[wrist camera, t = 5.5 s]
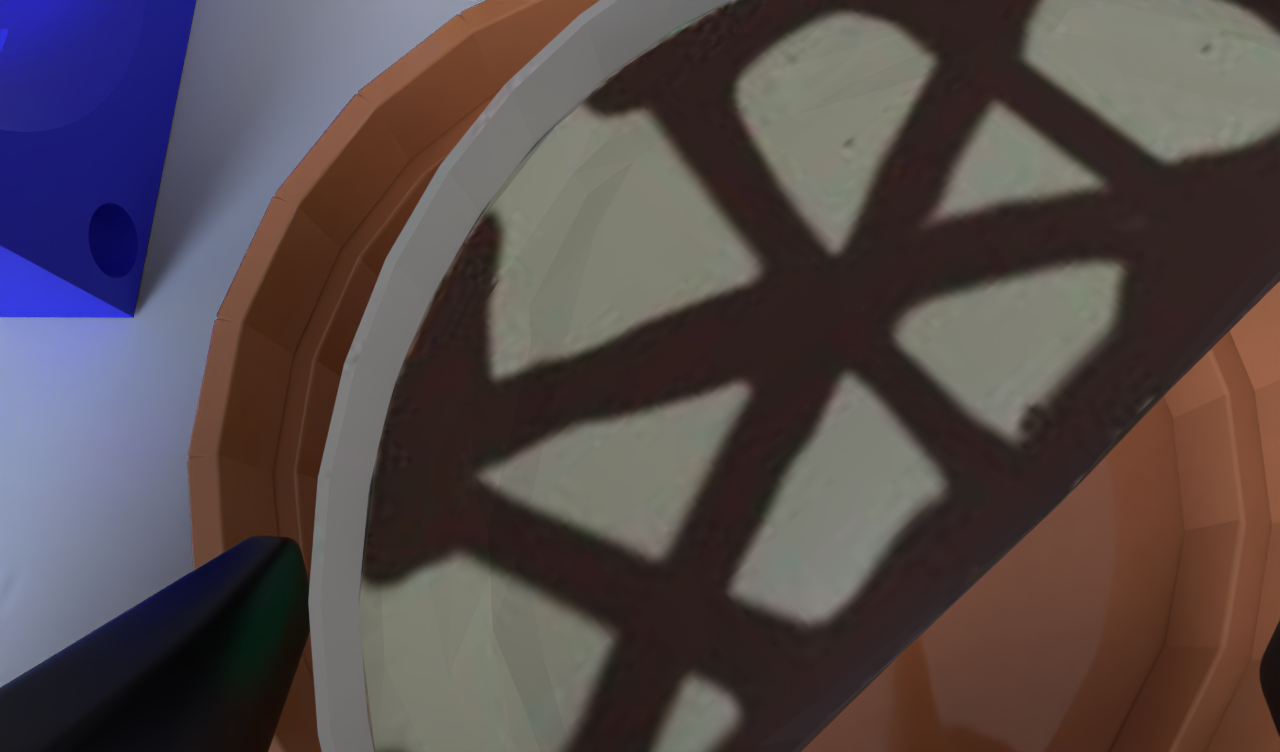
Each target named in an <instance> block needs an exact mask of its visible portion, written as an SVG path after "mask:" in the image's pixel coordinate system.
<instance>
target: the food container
mask: <svg viewBox="0 0 1280 752" xmlns="http://www.w3.org/2000/svg"><path fill="white" fill-rule="evenodd" d="M1279 281H1280V0H600V1H598V2H597V3H596V4H594V5H593V6H591V7H590V8H588V9H587V10H585V11H584V12H583V13H581V14H580V15H579V16H578V17H577V18H576V19H574V20H573V21H572V22H571V23H570V24H569V25H568V26H567V27H566V28H565V29H564V30H563V31H562V32H560V33H559V34H558V35H557V36H556V37H555V38H554V39H553V40H552V41H551V42H550V43H549V44H548V45H547V46H545V47H544V48H543V49H542V50H541V51H540V52H539V53H538V54H537V55H536V56H535V57H534V58H533V59H532V60H530V61H529V62H528V63H527V64H526V65H525V66H524V67H523V68H522V69H521V70H520V71H519V72H518V73H516V74H515V75H514V76H513V77H512V78H511V79H510V80H509V81H508V82H507V83H506V84H505V85H504V86H503V87H502V89H501V90H500V91H499V92H498V94H497V95H496V96H495V97H494V99H493V100H492V101H491V102H490V104H489V105H488V106H487V107H486V109H485V110H484V111H483V112H482V114H481V115H480V116H479V117H478V119H477V120H476V121H475V122H474V124H473V125H472V126H471V127H470V129H469V130H468V131H467V132H466V134H465V135H464V136H463V137H462V139H461V140H460V141H459V142H458V144H457V145H456V146H455V147H454V149H453V150H452V151H451V152H450V154H449V155H448V156H447V157H446V159H445V160H444V161H443V162H442V164H441V165H440V166H439V168H438V170H437V171H436V173H435V175H434V177H433V178H432V180H431V182H430V183H429V185H428V187H427V189H426V190H425V192H424V194H423V195H422V197H421V199H420V201H419V202H418V204H417V206H416V207H415V209H414V211H413V213H412V214H411V216H410V218H409V220H408V221H407V223H406V225H405V226H404V228H403V230H402V232H401V233H400V235H399V237H398V238H397V240H396V242H395V244H394V245H393V247H392V249H391V250H390V252H389V254H388V256H387V257H386V259H385V262H384V264H383V267H382V269H381V272H380V274H379V277H378V279H377V282H376V284H375V287H374V290H373V292H372V295H371V297H370V300H369V302H368V305H367V307H366V310H365V312H364V315H363V317H362V320H361V322H360V325H359V327H358V330H357V332H356V335H355V337H354V340H353V342H352V345H351V348H350V350H349V353H348V355H347V358H346V360H345V363H344V367H343V371H342V375H341V380H340V384H339V388H338V393H337V397H336V401H335V406H334V410H333V414H332V419H331V423H330V427H329V432H328V436H327V440H326V445H325V449H324V453H323V458H322V462H321V466H320V471H319V475H318V482H317V495H316V508H315V521H314V534H313V547H312V560H311V573H310V586H309V599H308V605H309V619H310V633H311V647H312V661H313V674H314V688H315V702H316V716H317V730H318V737H319V742H320V746H321V751H322V752H801V751H802V750H803V749H804V748H805V747H806V746H807V745H808V744H809V743H810V742H811V741H813V740H814V739H815V738H816V737H817V736H818V735H819V734H820V733H821V732H822V731H823V730H824V729H825V728H826V727H827V726H828V725H829V724H830V723H831V722H832V721H833V720H834V719H835V718H836V717H837V716H838V715H839V714H840V713H841V712H842V711H843V710H844V709H845V708H846V707H847V706H848V705H849V704H850V703H851V702H852V701H853V700H854V699H855V698H856V697H857V696H858V695H859V694H860V693H862V692H863V691H864V690H865V689H866V688H867V687H868V686H869V685H870V684H871V683H872V682H873V681H874V680H875V679H876V678H877V677H878V676H879V675H880V674H881V673H882V672H883V671H884V670H885V669H886V668H887V667H888V666H889V665H890V664H891V663H892V662H893V661H894V660H895V659H896V658H897V657H898V656H899V655H900V654H901V653H902V652H904V651H905V650H906V649H907V648H908V647H909V646H910V645H911V644H912V643H913V642H914V641H915V640H916V639H917V638H918V637H919V636H920V635H922V634H923V633H924V632H925V631H926V630H927V629H928V628H929V627H930V626H931V625H932V624H933V623H934V622H935V621H936V620H937V619H938V618H940V617H941V616H942V615H943V614H944V613H945V612H946V611H947V610H948V609H949V608H950V607H951V606H952V605H953V604H954V603H955V602H956V601H958V600H959V599H960V598H961V597H962V596H963V595H964V594H965V593H966V592H967V591H968V590H969V589H970V588H971V587H972V586H973V585H974V584H975V583H977V582H978V581H979V580H980V579H981V578H982V577H983V576H984V575H985V574H986V573H987V572H988V571H989V570H990V569H991V568H992V567H993V566H995V565H996V564H997V563H998V562H999V561H1000V560H1001V559H1002V558H1003V557H1004V556H1005V555H1006V554H1007V553H1008V552H1009V551H1010V550H1011V549H1013V548H1014V547H1015V546H1016V545H1017V544H1018V543H1019V542H1020V541H1021V540H1022V539H1023V538H1024V537H1025V536H1026V535H1027V534H1028V533H1029V532H1031V531H1032V530H1033V529H1034V528H1035V527H1036V526H1037V525H1038V524H1039V523H1040V522H1041V521H1042V520H1043V519H1044V518H1045V517H1046V516H1047V515H1049V514H1050V513H1051V512H1052V511H1053V510H1054V509H1055V508H1056V507H1057V506H1058V505H1059V504H1060V503H1061V502H1062V501H1063V500H1064V499H1065V498H1066V497H1067V496H1068V495H1069V494H1070V493H1071V492H1072V491H1073V490H1074V489H1075V488H1076V487H1077V486H1078V485H1079V484H1080V483H1081V482H1082V481H1083V480H1084V479H1085V478H1086V477H1087V476H1088V474H1089V473H1090V472H1091V471H1092V470H1093V469H1094V468H1095V467H1096V466H1097V465H1098V464H1099V463H1100V462H1101V461H1102V460H1103V459H1104V458H1105V457H1106V456H1107V455H1108V454H1109V453H1110V452H1111V451H1112V450H1113V448H1114V447H1115V446H1116V445H1117V444H1118V443H1119V442H1120V441H1121V440H1122V439H1123V438H1124V437H1125V436H1126V435H1127V434H1128V433H1129V432H1130V431H1131V430H1132V429H1133V428H1134V427H1135V426H1136V425H1137V424H1138V422H1139V421H1140V420H1141V419H1142V418H1143V417H1144V416H1145V415H1146V414H1147V413H1148V412H1149V411H1150V410H1151V409H1152V408H1153V407H1154V406H1155V405H1156V404H1157V403H1158V402H1159V401H1160V400H1161V399H1162V397H1163V396H1164V395H1165V394H1166V393H1167V392H1168V391H1169V390H1170V389H1171V388H1172V387H1173V386H1174V385H1175V384H1176V383H1177V382H1178V381H1179V380H1180V379H1181V378H1182V377H1183V376H1184V375H1185V374H1186V373H1187V372H1188V371H1189V370H1190V369H1191V368H1192V367H1193V366H1194V365H1195V364H1196V363H1197V362H1198V361H1199V360H1201V359H1202V358H1203V357H1204V356H1205V355H1206V354H1207V353H1208V352H1209V351H1210V350H1211V349H1212V348H1213V347H1214V346H1215V345H1216V344H1217V343H1218V342H1219V341H1220V340H1221V339H1222V338H1223V337H1224V336H1225V335H1226V334H1227V333H1228V332H1229V331H1230V330H1231V329H1232V328H1233V327H1234V326H1235V325H1236V324H1237V323H1238V322H1239V321H1240V320H1241V319H1242V318H1243V317H1244V316H1245V315H1246V314H1247V313H1248V312H1249V311H1250V310H1251V309H1252V308H1253V307H1254V306H1255V305H1256V304H1257V303H1258V302H1259V301H1260V300H1261V299H1262V298H1263V297H1264V296H1265V295H1266V294H1267V293H1268V292H1269V291H1270V290H1271V289H1272V288H1273V287H1274V286H1275V285H1276V284H1277V283H1278V282H1279Z"/></svg>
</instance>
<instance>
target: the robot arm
mask: <svg viewBox="0 0 1280 752" xmlns="http://www.w3.org/2000/svg"><path fill="white" fill-rule="evenodd" d="M309 586H310V582H309V579H308V575H307V571H306V567H305V563H304V559H303V555H302V551H301V549H300V546H299V544H298V543H297V542H296V541H295V540H294V539H292V538H289V537H279V536H261V535H259V536H252V537H249V538H247V539H245V540H243V541H241V542H240V543H238V544H237V545H235V546H233V547H232V548H230V549H228V550H227V551H225V552H223V553H222V554H220V555H218V556H217V557H215V558H213V559H212V560H210V561H208V562H207V563H205V564H204V565H202V566H200V567H199V568H197V569H195V570H194V571H192V572H190V573H189V574H187V575H185V576H184V577H182V578H180V579H179V580H177V581H175V582H174V583H172V584H171V585H169V586H167V587H166V588H164V589H162V590H161V591H159V592H157V593H156V594H154V595H152V596H151V597H149V598H147V599H146V600H144V601H142V602H141V603H139V604H138V605H136V606H134V607H133V608H131V609H129V610H128V611H126V612H124V613H123V614H121V615H119V616H118V617H116V618H114V619H113V620H111V621H109V622H108V623H106V624H105V625H103V626H101V627H100V628H98V629H96V630H95V631H93V632H91V633H90V634H88V635H86V636H85V637H83V638H81V639H80V640H78V641H77V642H75V643H73V644H72V645H70V646H68V647H67V648H65V649H63V650H62V651H60V652H58V653H57V654H55V655H53V656H52V657H50V658H48V659H47V660H45V661H44V662H42V663H40V664H39V665H37V666H35V667H34V668H32V669H30V670H29V671H27V672H25V673H24V674H22V675H20V676H19V677H17V678H15V679H14V680H12V681H10V682H9V683H7V684H6V685H4V686H2V687H1V688H0V752H268V751H269V748H270V746H271V743H272V740H273V737H274V734H275V731H276V728H277V725H278V723H279V720H280V717H281V714H282V711H283V708H284V705H285V702H286V699H287V697H288V694H289V691H290V688H291V685H292V682H293V679H294V676H295V674H296V671H297V668H298V665H299V662H300V659H301V656H302V653H303V650H304V648H305V645H306V642H307V639H308V636H309V633H310V619H309V605H308V599H309ZM1259 678H1260V684H1261V688H1262V692H1263V694H1264V697H1265V700H1266V703H1267V705H1268V708H1269V711H1270V713H1271V716H1272V719H1273V722H1274V724H1275V727H1276V730H1277V732H1278V735H1279V738H1280V620H1279V622H1278V624H1277V626H1276V628H1275V631H1274V633H1273V635H1272V637H1271V639H1270V641H1269V643H1268V646H1267V648H1266V650H1265V652H1264V654H1263V656H1262V659H1261V662H1260V669H1259Z"/></svg>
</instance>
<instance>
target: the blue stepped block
mask: <svg viewBox="0 0 1280 752" xmlns="http://www.w3.org/2000/svg"><path fill="white" fill-rule="evenodd" d="M195 3H196V0H0V317H134V312H135V307H136V301H137V296H138V291H139V286H140V281H141V276H142V271H143V266H144V261H145V256H146V251H147V246H148V241H149V236H150V231H151V226H152V221H153V215H154V210H155V205H156V200H157V195H158V190H159V185H160V180H161V175H162V170H163V165H164V160H165V155H166V150H167V145H168V140H169V135H170V129H171V124H172V119H173V114H174V109H175V104H176V99H177V94H178V89H179V84H180V79H181V74H182V69H183V64H184V59H185V54H186V49H187V43H188V38H189V33H190V28H191V23H192V18H193V13H194V8H195Z"/></svg>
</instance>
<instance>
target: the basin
mask: <svg viewBox="0 0 1280 752" xmlns="http://www.w3.org/2000/svg"><path fill="white" fill-rule="evenodd" d="M598 1H600V0H485V1H483V2H481V3H479V4H477V5H475V6H473V7H470V8H468V9H466V10H464V11H462V12H461V13H460V15H459V14H458V15H456V16H454V17H453V18H452V19H450V20H449V21H448V22H447V23H445V24H444V25H443V26H441V27H440V28H439V29H438V30H436V31H435V32H434V33H432V34H431V35H430V36H429V37H427V38H426V39H425V40H423V41H422V42H421V43H420V44H418V45H417V46H416V47H415V48H413V49H412V50H411V51H409V52H408V53H407V54H406V55H404V56H403V57H402V58H400V59H399V60H398V61H397V62H395V63H394V64H393V65H391V66H390V67H389V68H388V69H386V70H385V71H384V72H382V73H381V74H380V75H379V76H377V77H376V78H375V79H373V80H372V81H371V82H370V83H368V84H367V85H366V86H364V87H363V88H362V89H361V90H359V92H358V94H359V95H358V94H356V95H354V96H353V98H352V99H351V100H350V101H349V103H348V104H347V105H346V106H345V108H344V109H343V110H342V111H341V112H340V114H339V115H338V116H337V117H336V119H335V120H334V121H333V122H332V124H331V125H330V126H329V127H328V129H327V130H326V131H325V132H324V133H323V135H322V136H321V137H320V138H319V140H318V141H317V142H316V143H315V145H314V146H313V147H312V148H311V150H310V151H309V152H308V153H307V154H306V156H305V157H304V158H303V159H302V161H301V162H300V163H299V164H298V166H297V167H296V168H295V169H294V171H293V172H292V173H291V174H290V175H289V177H288V178H287V179H286V180H285V182H284V183H283V184H282V185H281V187H280V188H279V189H278V190H277V192H276V193H275V196H276V197H273V198H272V200H271V202H270V204H269V206H268V208H267V210H266V212H265V214H264V216H263V218H262V221H261V223H260V225H259V227H258V229H257V231H256V233H255V235H254V237H253V239H252V242H251V244H250V246H249V248H248V250H247V252H246V254H245V256H244V258H243V260H242V263H241V265H240V267H239V269H238V271H237V273H236V275H235V277H234V279H233V282H232V284H231V286H230V288H229V290H228V292H227V294H226V296H225V298H224V300H223V303H222V305H221V307H220V309H219V311H218V313H217V319H216V320H215V322H214V326H213V331H212V336H211V341H210V346H209V351H208V356H207V361H206V366H205V371H204V376H203V381H202V386H201V391H200V396H199V401H198V406H197V411H196V416H195V421H194V426H193V431H192V436H191V441H190V446H189V451H188V456H189V457H190V458H189V459H188V461H187V464H188V481H189V499H190V517H191V535H192V553H193V570H195V569H197V568H199V567H200V566H202V565H204V564H205V563H207V562H208V561H210V560H212V559H213V558H215V557H217V556H218V555H220V554H222V553H223V552H225V551H227V550H228V549H230V548H232V547H233V546H235V545H237V544H238V543H240V542H241V541H243V540H245V539H247V538H249V537H252V536H259V535H261V536H279V537H289V538H292V539H294V540H295V541H296V542H297V543H298V544H299V546H300V549H301V551H302V555H303V559H304V563H305V567H306V571H307V575H308V579H309V582H310V573H311V560H312V547H313V534H314V521H315V508H316V495H317V482H318V475H319V471H320V466H321V462H322V458H323V453H324V449H325V445H326V440H327V436H328V432H329V427H330V423H331V419H332V414H333V410H334V406H335V401H336V397H337V393H338V388H339V384H340V380H341V375H342V371H343V367H344V363H345V360H346V358H347V355H348V353H349V350H350V348H351V345H352V342H353V340H354V337H355V335H356V332H357V330H358V327H359V325H360V322H361V320H362V317H363V315H364V312H365V310H366V307H367V305H368V302H369V300H370V297H371V295H372V292H373V290H374V287H375V284H376V282H377V279H378V277H379V274H380V272H381V269H382V267H383V264H384V262H385V259H386V257H387V256H388V254H389V252H390V250H391V249H392V247H393V245H394V244H395V242H396V240H397V238H398V237H399V235H400V233H401V232H402V230H403V228H404V226H405V225H406V223H407V221H408V220H409V218H410V216H411V214H412V213H413V211H414V209H415V207H416V206H417V204H418V202H419V201H420V199H421V197H422V195H423V194H424V192H425V190H426V189H427V187H428V185H429V183H430V182H431V180H432V178H433V177H434V175H435V173H436V171H437V170H438V168H439V166H440V165H441V164H442V162H443V161H444V160H445V159H446V157H447V156H448V155H449V154H450V152H451V151H452V150H453V149H454V147H455V146H456V145H457V144H458V142H459V141H460V140H461V139H462V137H463V136H464V135H465V134H466V132H467V131H468V130H469V129H470V127H471V126H472V125H473V124H474V122H475V121H476V120H477V119H478V117H479V116H480V115H481V114H482V112H483V111H484V110H485V109H486V107H487V106H488V105H489V104H490V102H491V101H492V100H493V99H494V97H495V96H496V95H497V94H498V92H499V91H500V90H501V89H502V87H503V86H504V85H505V84H506V83H507V82H508V81H509V80H510V79H511V78H512V77H513V76H514V75H515V74H516V73H518V72H519V71H520V70H521V69H522V68H523V67H524V66H525V65H526V64H527V63H528V62H529V61H530V60H532V59H533V58H534V57H535V56H536V55H537V54H538V53H539V52H540V51H541V50H542V49H543V48H544V47H545V46H547V45H548V44H549V43H550V42H551V41H552V40H553V39H554V38H555V37H556V36H557V35H558V34H559V33H560V32H562V31H563V30H564V29H565V28H566V27H567V26H568V25H569V24H570V23H571V22H572V21H573V20H574V19H576V18H577V17H578V16H579V15H580V14H581V13H583V12H584V11H585V10H587V9H588V8H590V7H591V6H593V5H594V4H596V3H597V2H598ZM1279 620H1280V281H1279V282H1278V283H1277V284H1276V285H1275V286H1274V287H1273V288H1272V289H1271V290H1270V291H1269V292H1268V293H1267V294H1266V295H1265V296H1264V297H1263V298H1262V299H1261V300H1260V301H1259V302H1258V303H1257V304H1256V305H1255V306H1254V307H1253V308H1252V309H1251V310H1250V311H1249V312H1248V313H1247V314H1246V315H1245V316H1244V317H1243V318H1242V319H1241V320H1240V321H1239V322H1238V323H1237V324H1236V325H1235V326H1234V327H1233V328H1232V329H1231V330H1230V331H1229V332H1228V333H1227V334H1226V335H1225V336H1224V337H1223V338H1222V339H1221V340H1220V341H1219V342H1218V343H1217V344H1216V345H1215V346H1214V347H1213V348H1212V349H1211V350H1210V351H1209V352H1208V353H1207V354H1206V355H1205V356H1204V357H1203V358H1202V359H1201V360H1199V361H1198V362H1197V363H1196V364H1195V365H1194V366H1193V367H1192V368H1191V369H1190V370H1189V371H1188V372H1187V373H1186V374H1185V375H1184V376H1183V377H1182V378H1181V379H1180V380H1179V381H1178V382H1177V383H1176V384H1175V385H1174V386H1173V387H1172V388H1171V389H1170V390H1169V391H1168V392H1167V393H1166V394H1165V395H1164V396H1163V397H1162V399H1161V400H1160V401H1159V402H1158V403H1157V404H1156V405H1155V406H1154V407H1153V408H1152V409H1151V410H1150V411H1149V412H1148V413H1147V414H1146V415H1145V416H1144V417H1143V418H1142V419H1141V420H1140V421H1139V422H1138V424H1137V425H1136V426H1135V427H1134V428H1133V429H1132V430H1131V431H1130V432H1129V433H1128V434H1127V435H1126V436H1125V437H1124V438H1123V439H1122V440H1121V441H1120V442H1119V443H1118V444H1117V445H1116V446H1115V447H1114V448H1113V450H1112V451H1111V452H1110V453H1109V454H1108V455H1107V456H1106V457H1105V458H1104V459H1103V460H1102V461H1101V462H1100V463H1099V464H1098V465H1097V466H1096V467H1095V468H1094V469H1093V470H1092V471H1091V472H1090V473H1089V474H1088V476H1087V477H1086V478H1085V479H1084V480H1083V481H1082V482H1081V483H1080V484H1079V485H1078V486H1077V487H1076V488H1075V489H1074V490H1073V491H1072V492H1071V493H1070V494H1069V495H1068V496H1067V497H1066V498H1065V499H1064V500H1063V501H1062V502H1061V503H1060V504H1059V505H1058V506H1057V507H1056V508H1055V509H1054V510H1053V511H1052V512H1051V513H1050V514H1049V515H1047V516H1046V517H1045V518H1044V519H1043V520H1042V521H1041V522H1040V523H1039V524H1038V525H1037V526H1036V527H1035V528H1034V529H1033V530H1032V531H1031V532H1029V533H1028V534H1027V535H1026V536H1025V537H1024V538H1023V539H1022V540H1021V541H1020V542H1019V543H1018V544H1017V545H1016V546H1015V547H1014V548H1013V549H1011V550H1010V551H1009V552H1008V553H1007V554H1006V555H1005V556H1004V557H1003V558H1002V559H1001V560H1000V561H999V562H998V563H997V564H996V565H995V566H993V567H992V568H991V569H990V570H989V571H988V572H987V573H986V574H985V575H984V576H983V577H982V578H981V579H980V580H979V581H978V582H977V583H975V584H974V585H973V586H972V587H971V588H970V589H969V590H968V591H967V592H966V593H965V594H964V595H963V596H962V597H961V598H960V599H959V600H958V601H956V602H955V603H954V604H953V605H952V606H951V607H950V608H949V609H948V610H947V611H946V612H945V613H944V614H943V615H942V616H941V617H940V618H938V619H937V620H936V621H935V622H934V623H933V624H932V625H931V626H930V627H929V628H928V629H927V630H926V631H925V632H924V633H923V634H922V635H920V636H919V637H918V638H917V639H916V640H915V641H914V642H913V643H912V644H911V645H910V646H909V647H908V648H907V649H906V650H905V651H904V652H902V653H901V654H900V655H899V656H898V657H897V658H896V659H895V660H894V661H893V662H892V663H891V664H890V665H889V666H888V667H887V668H886V669H885V670H884V671H883V672H882V673H881V674H880V675H879V676H878V677H877V678H876V679H875V680H874V681H873V682H872V683H871V684H870V685H869V686H868V687H867V688H866V689H865V690H864V691H863V692H862V693H860V694H859V695H858V696H857V697H856V698H855V699H854V700H853V701H852V702H851V703H850V704H849V705H848V706H847V707H846V708H845V709H844V710H843V711H842V712H841V713H840V714H839V715H838V716H837V717H836V718H835V719H834V720H833V721H832V722H831V723H830V724H829V725H828V726H827V727H826V728H825V729H824V730H823V731H822V732H821V733H820V734H819V735H818V736H817V737H816V738H815V739H814V740H813V741H811V742H810V743H809V744H808V745H807V746H806V747H805V748H804V749H803V750H802V751H801V752H1280V738H1279V735H1278V732H1277V730H1276V727H1275V724H1274V722H1273V719H1272V716H1271V713H1270V711H1269V708H1268V705H1267V703H1266V700H1265V697H1264V694H1263V692H1262V688H1261V684H1260V678H1259V669H1260V662H1261V659H1262V656H1263V654H1264V652H1265V650H1266V648H1267V646H1268V643H1269V641H1270V639H1271V637H1272V635H1273V633H1274V631H1275V628H1276V626H1277V624H1278V622H1279ZM268 752H322V751H321V746H320V742H319V737H318V730H317V716H316V702H315V688H314V674H313V661H312V647H311V633H309V636H308V639H307V642H306V645H305V648H304V650H303V653H302V656H301V659H300V662H299V665H298V668H297V671H296V674H295V676H294V679H293V682H292V685H291V688H290V691H289V694H288V697H287V699H286V702H285V705H284V708H283V711H282V714H281V717H280V720H279V723H278V725H277V728H276V731H275V734H274V737H273V740H272V743H271V746H270V748H269V751H268Z"/></svg>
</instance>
